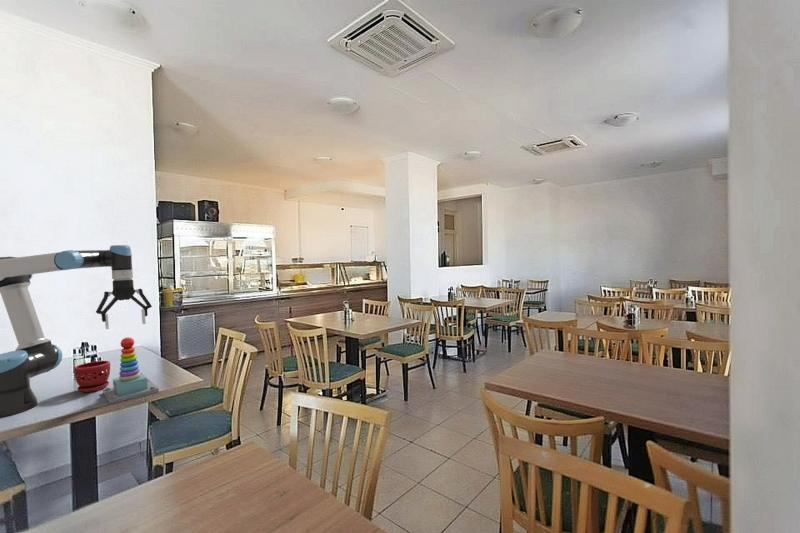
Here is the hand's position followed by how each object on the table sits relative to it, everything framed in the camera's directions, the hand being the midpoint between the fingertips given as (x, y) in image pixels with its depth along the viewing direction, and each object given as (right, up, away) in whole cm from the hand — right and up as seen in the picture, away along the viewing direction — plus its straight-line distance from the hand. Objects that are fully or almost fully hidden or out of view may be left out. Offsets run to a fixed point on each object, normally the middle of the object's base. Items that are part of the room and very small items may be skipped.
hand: (126, 326), depth 169 cm
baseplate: (+1, -31, +2) cm, 31 cm away
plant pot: (-21, -31, +8) cm, 38 cm away
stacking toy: (+1, -24, +1) cm, 24 cm away
